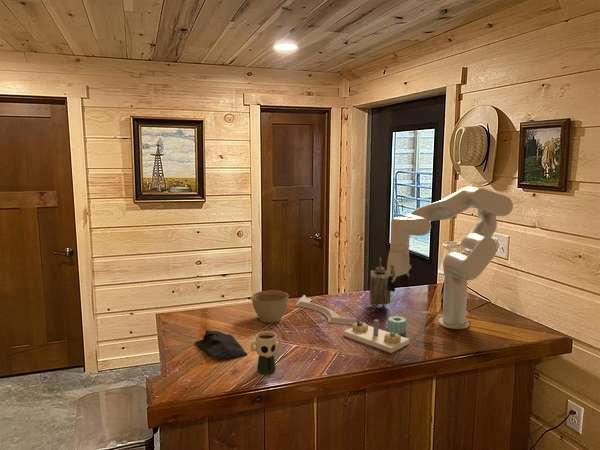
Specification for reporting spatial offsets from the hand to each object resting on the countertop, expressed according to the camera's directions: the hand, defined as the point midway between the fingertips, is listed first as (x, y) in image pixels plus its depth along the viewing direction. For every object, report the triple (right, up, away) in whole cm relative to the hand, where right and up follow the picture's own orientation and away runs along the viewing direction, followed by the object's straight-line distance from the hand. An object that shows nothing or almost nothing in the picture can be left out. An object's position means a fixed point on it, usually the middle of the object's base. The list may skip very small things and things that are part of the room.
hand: (398, 288), depth 194 cm
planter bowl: (-54, -16, +16) cm, 58 cm away
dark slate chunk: (-70, -22, -15) cm, 75 cm away
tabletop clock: (-3, -14, +30) cm, 33 cm away
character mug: (-52, -24, -33) cm, 66 cm away
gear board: (-10, -20, -6) cm, 23 cm away
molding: (-28, -15, +27) cm, 42 cm away
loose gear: (0, -18, +3) cm, 18 cm away
